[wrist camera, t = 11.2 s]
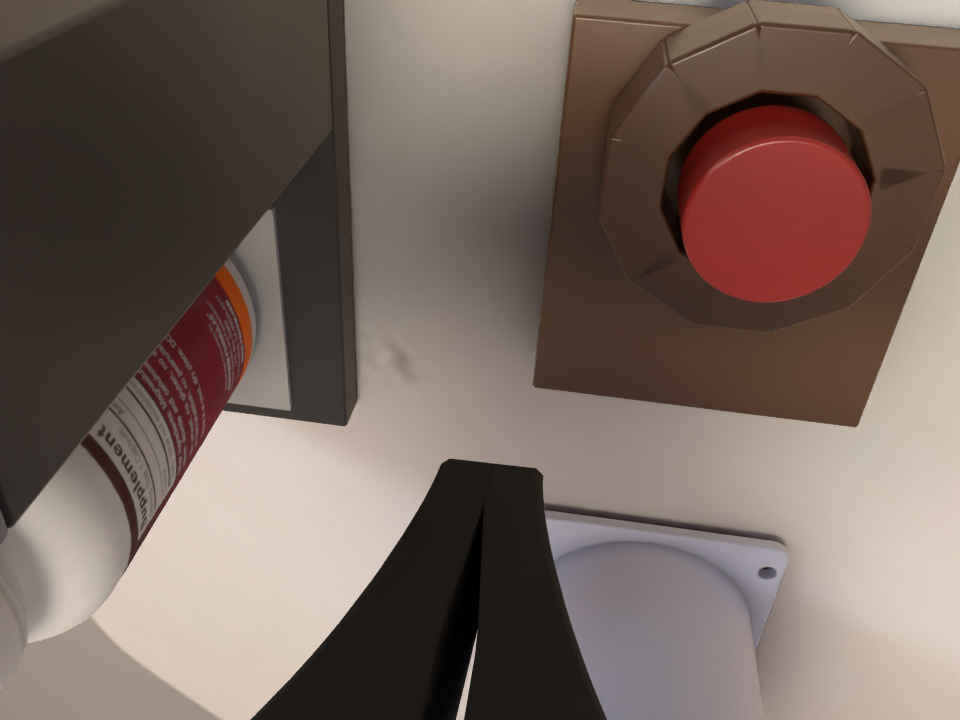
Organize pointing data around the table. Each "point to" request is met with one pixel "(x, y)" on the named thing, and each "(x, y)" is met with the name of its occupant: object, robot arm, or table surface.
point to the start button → (771, 204)
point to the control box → (655, 214)
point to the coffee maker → (166, 208)
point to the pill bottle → (122, 473)
